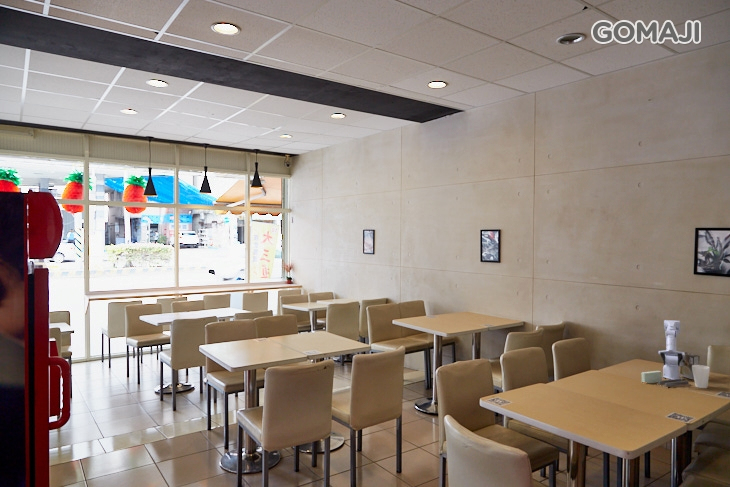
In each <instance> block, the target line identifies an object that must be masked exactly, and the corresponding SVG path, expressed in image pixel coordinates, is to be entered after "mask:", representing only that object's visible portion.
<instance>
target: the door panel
mask: <svg viewBox="0 0 730 487" xmlns="http://www.w3.org/2000/svg"><path fill="white" fill-rule="evenodd" d="M640 375H641V383H642V382H648V383H647V384H654V383H658V381H663V380H662V378H663V377H662V376H663V373H662V371H661V370H653V371H652V370H651V371H642V372H641V373H640Z"/></svg>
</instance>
